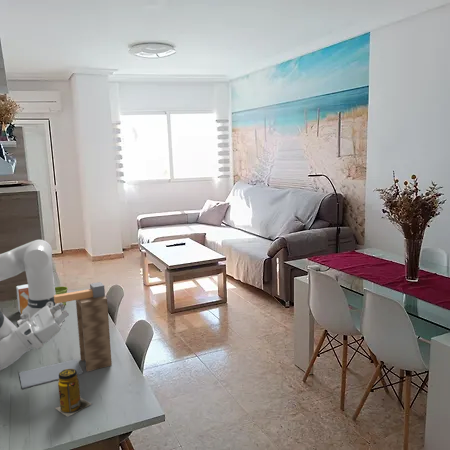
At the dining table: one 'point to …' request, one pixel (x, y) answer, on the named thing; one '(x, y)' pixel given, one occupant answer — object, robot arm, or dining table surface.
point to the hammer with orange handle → (81, 293)
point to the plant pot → (61, 291)
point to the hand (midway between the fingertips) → (65, 308)
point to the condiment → (70, 393)
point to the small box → (22, 297)
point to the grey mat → (47, 373)
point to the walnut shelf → (94, 332)
